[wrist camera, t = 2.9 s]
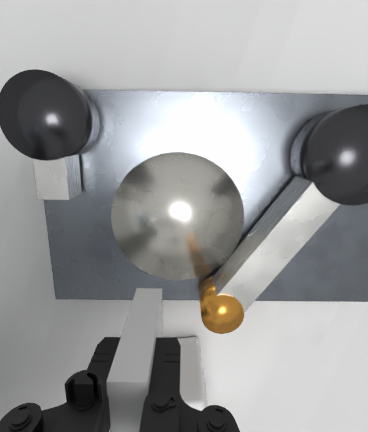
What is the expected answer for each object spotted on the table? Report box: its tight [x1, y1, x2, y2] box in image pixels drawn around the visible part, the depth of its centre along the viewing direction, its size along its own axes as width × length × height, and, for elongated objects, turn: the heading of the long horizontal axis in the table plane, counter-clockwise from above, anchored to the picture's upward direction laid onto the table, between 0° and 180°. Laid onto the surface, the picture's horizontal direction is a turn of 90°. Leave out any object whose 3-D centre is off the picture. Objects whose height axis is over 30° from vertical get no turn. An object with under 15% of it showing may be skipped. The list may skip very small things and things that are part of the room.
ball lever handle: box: [199, 104, 368, 334], centre depth 20 cm, size 18×6×3 cm, turn 144°
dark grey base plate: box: [44, 90, 368, 302], centre depth 22 cm, size 26×16×2 cm, turn 89°
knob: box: [0, 70, 100, 200], centre depth 18 cm, size 8×5×3 cm, turn 179°
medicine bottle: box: [178, 337, 207, 411], centre depth 22 cm, size 7×7×12 cm
